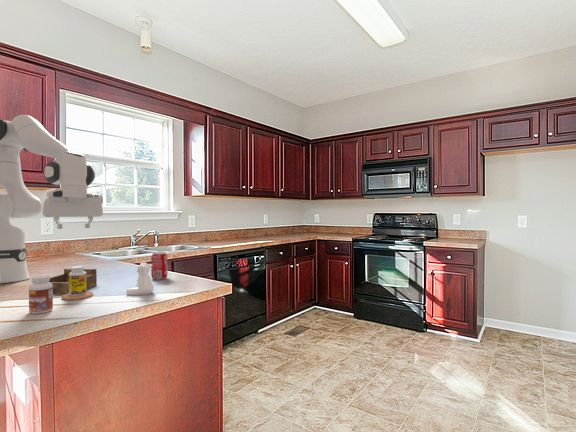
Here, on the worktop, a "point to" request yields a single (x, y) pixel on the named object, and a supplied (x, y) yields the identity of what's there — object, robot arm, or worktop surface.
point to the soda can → (159, 265)
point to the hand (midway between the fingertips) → (73, 228)
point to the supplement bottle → (77, 281)
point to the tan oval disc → (69, 297)
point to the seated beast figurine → (142, 281)
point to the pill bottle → (40, 295)
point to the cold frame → (62, 281)
